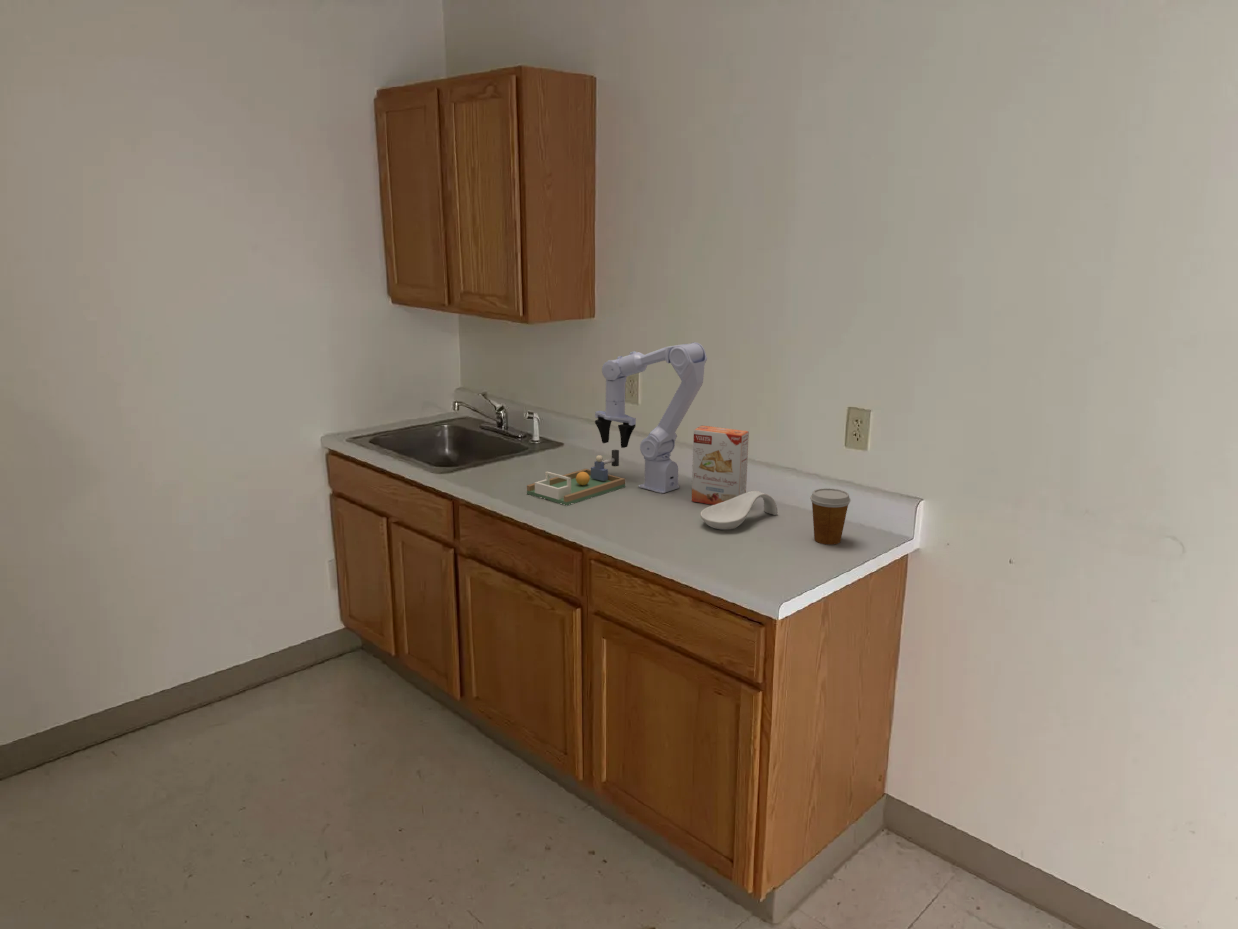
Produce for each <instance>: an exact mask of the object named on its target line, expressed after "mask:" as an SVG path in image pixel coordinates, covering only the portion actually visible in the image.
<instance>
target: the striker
mask: <svg viewBox="0 0 1238 929" xmlns="http://www.w3.org/2000/svg"><path fill="white" fill-rule="evenodd" d="M610 463H611V466H612V467H619V466H620V450H619V449H612V450H611V458H607V459H605V460H603V455H599V454H598V455H596V457H595V461H594V464H593V465H594V466H592V467H590V470H591V478H593V479H597V480H600V481H606V480H608V474H609V469H608V468H605V465H608V464H610Z"/></svg>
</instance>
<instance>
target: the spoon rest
mask: <svg viewBox="0 0 1238 929" xmlns="http://www.w3.org/2000/svg"><path fill="white" fill-rule="evenodd" d="M759 498H762V499H763V512H765V513H767V514H771V515H772V516H777V515H778V507H777V503H776V501H775V499H773V497H772V496H771V495H769V494H768V493H763V492H762V491H758V490H751V491H750V490H749V491H748V492H747V491H746V493H744V494H742V495H739V496H737V497H735V498H732V499H730V500H727V501H724V502H721V503H718V504H716V505H710V506H707V507H705V508H703V509H702V510H701V511H700V518H701V520H702V521H703V522H704V523H705V524H706V525H707V526H709V527H711V528H713V529H716V530H721V531H728V530H729V531H730V530H735V529H737V527H739V526H741V524H743V522H744V521H745V520H746V518H747V517H748V515H749V514H750V511H751V510H752V507H753V505H754V504H755V502H756V500H757V499H759Z"/></svg>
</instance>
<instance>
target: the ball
mask: <svg viewBox="0 0 1238 929" xmlns="http://www.w3.org/2000/svg"><path fill="white" fill-rule="evenodd" d="M589 480H590V477H589V475H588V473H586V472H579V473H578V474H577V476H576V481H577V483H578V484H579V485H586V484H588V482H589Z"/></svg>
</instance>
